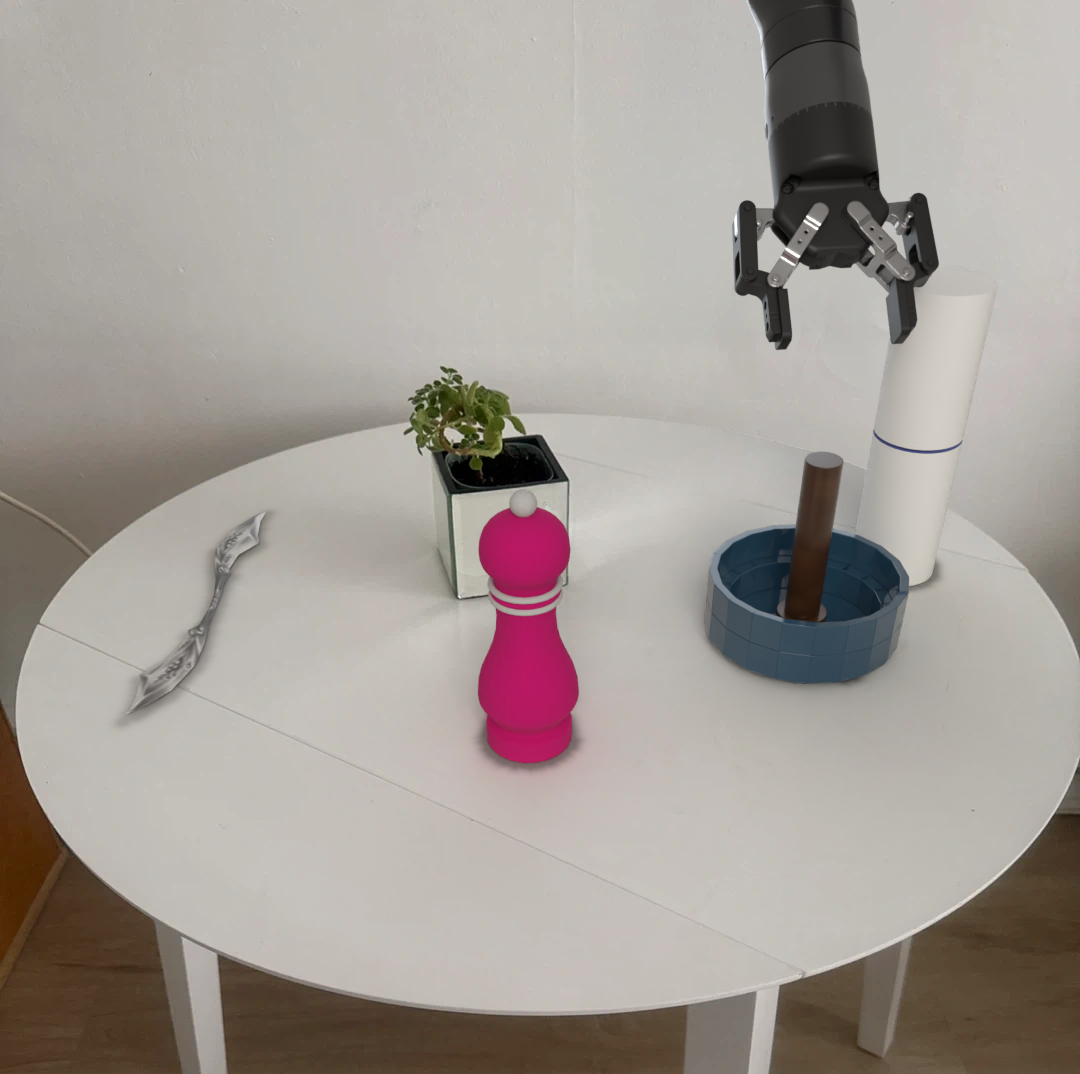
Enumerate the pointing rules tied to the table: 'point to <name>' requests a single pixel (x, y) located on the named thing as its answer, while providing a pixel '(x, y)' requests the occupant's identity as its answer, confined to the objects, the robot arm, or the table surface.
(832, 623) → the bowl
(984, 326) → the cylindrical container
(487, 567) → the pepper mill
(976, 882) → the table surface
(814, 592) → the brown flanged cylinder
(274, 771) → the table surface
